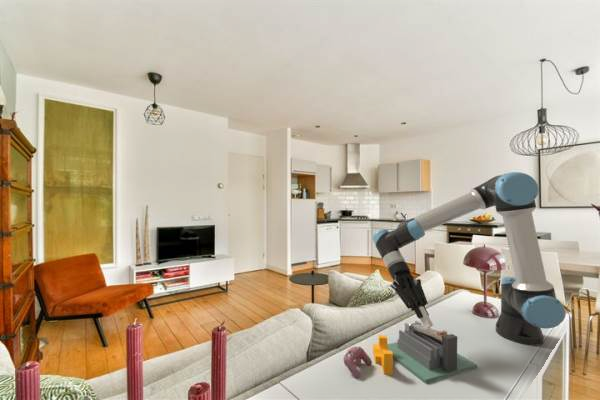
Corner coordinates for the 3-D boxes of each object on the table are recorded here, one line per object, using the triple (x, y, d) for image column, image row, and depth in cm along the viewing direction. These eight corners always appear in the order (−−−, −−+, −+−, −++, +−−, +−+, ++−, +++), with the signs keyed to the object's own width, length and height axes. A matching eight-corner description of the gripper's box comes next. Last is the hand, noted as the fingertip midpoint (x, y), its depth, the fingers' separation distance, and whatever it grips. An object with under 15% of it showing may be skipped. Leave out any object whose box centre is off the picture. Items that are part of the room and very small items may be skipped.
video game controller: (362, 365, 93) (354, 343, 95) (374, 363, 90) (365, 341, 92) (347, 379, 85) (338, 355, 87) (359, 378, 82) (350, 353, 84)
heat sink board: (426, 338, 109) (426, 308, 109) (477, 367, 90) (477, 332, 90) (380, 348, 100) (380, 316, 100) (425, 383, 81) (425, 344, 81)
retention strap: (415, 327, 102) (414, 321, 102) (449, 339, 89) (448, 332, 89) (408, 328, 101) (407, 322, 101) (441, 340, 87) (440, 333, 88)
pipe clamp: (373, 353, 98) (373, 334, 98) (385, 354, 97) (386, 335, 97) (377, 374, 86) (378, 352, 86) (392, 375, 85) (392, 354, 85)
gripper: (404, 269, 114) (437, 328, 98) (377, 271, 109) (407, 334, 93) (415, 259, 109) (450, 319, 93) (387, 261, 104) (420, 325, 88)
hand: (429, 327), depth 93 cm, fingers closed
